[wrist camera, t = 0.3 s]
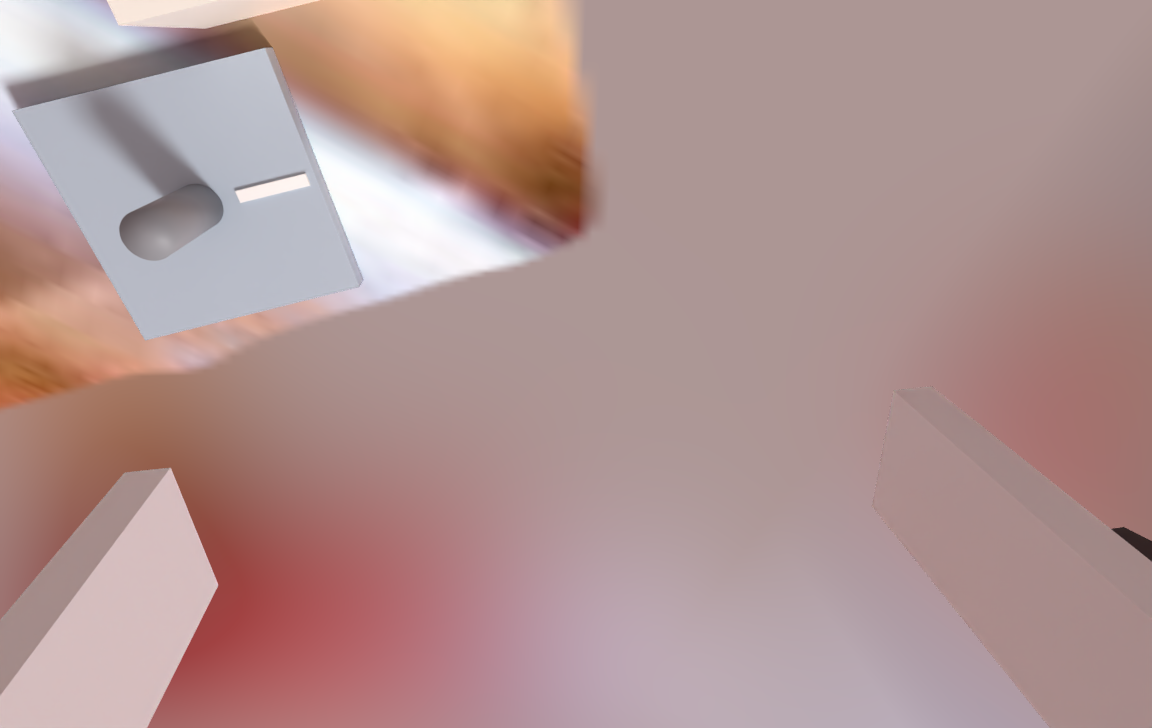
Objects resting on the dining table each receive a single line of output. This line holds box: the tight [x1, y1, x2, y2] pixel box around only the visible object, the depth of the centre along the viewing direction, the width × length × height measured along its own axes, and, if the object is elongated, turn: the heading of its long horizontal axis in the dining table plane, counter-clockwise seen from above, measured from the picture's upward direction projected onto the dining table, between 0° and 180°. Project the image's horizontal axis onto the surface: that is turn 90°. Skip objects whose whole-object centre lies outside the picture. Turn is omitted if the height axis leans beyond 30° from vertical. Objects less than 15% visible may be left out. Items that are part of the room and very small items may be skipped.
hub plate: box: [12, 48, 363, 340], centre depth 31 cm, size 12×12×7 cm
